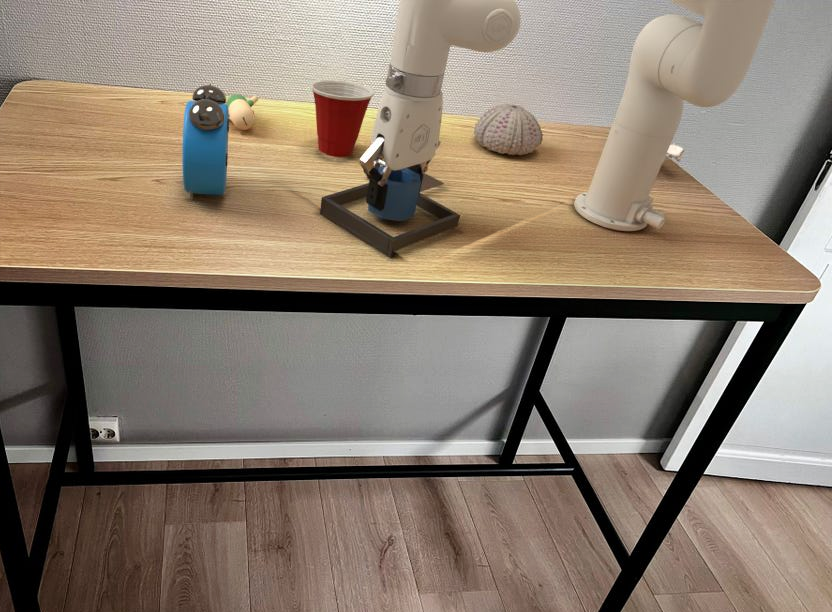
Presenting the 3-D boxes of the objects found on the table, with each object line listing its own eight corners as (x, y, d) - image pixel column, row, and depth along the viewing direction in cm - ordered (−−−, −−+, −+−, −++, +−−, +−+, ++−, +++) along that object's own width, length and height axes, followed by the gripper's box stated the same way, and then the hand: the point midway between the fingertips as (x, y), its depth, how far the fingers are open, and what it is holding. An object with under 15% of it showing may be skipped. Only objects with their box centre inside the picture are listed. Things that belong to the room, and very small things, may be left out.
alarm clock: (189, 170, 116) (189, 75, 107) (228, 174, 117) (231, 79, 108) (182, 209, 106) (181, 107, 97) (225, 212, 107) (228, 111, 98)
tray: (456, 231, 112) (460, 215, 110) (390, 258, 103) (393, 240, 101) (387, 192, 120) (389, 176, 118) (319, 213, 111) (321, 196, 109)
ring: (422, 213, 110) (430, 180, 107) (391, 224, 106) (398, 190, 103) (389, 195, 114) (395, 161, 111) (358, 205, 110) (363, 171, 106)
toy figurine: (220, 121, 139) (229, 143, 130) (210, 99, 136) (218, 120, 127) (259, 104, 139) (271, 124, 130) (250, 81, 136) (261, 101, 127)
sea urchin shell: (459, 144, 141) (468, 103, 136) (488, 128, 150) (498, 89, 145) (521, 167, 136) (533, 125, 131) (547, 148, 145) (560, 109, 140)
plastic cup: (353, 141, 135) (362, 76, 127) (372, 167, 127) (383, 98, 120) (297, 141, 131) (303, 74, 124) (313, 167, 123) (320, 97, 116)
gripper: (390, 99, 91) (369, 225, 102) (475, 82, 102) (447, 198, 113) (349, 80, 95) (333, 203, 106) (435, 65, 105) (412, 179, 116)
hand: (392, 199), depth 109 cm, fingers closed on ring, 7 cm apart
